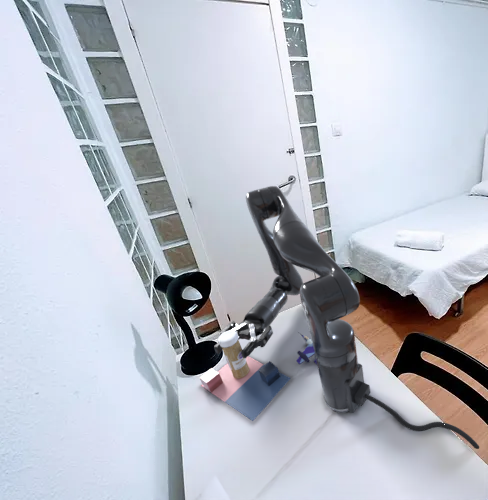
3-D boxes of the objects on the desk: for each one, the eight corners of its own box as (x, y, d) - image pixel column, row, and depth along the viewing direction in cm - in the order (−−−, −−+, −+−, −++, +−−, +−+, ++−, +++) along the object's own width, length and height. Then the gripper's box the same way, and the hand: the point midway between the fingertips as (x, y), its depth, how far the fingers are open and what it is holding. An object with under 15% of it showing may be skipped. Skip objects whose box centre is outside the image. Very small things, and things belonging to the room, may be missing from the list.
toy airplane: (297, 336, 88) (295, 328, 87) (341, 336, 86) (339, 327, 85) (285, 371, 77) (282, 361, 75) (335, 371, 75) (333, 361, 73)
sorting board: (291, 379, 74) (291, 378, 74) (253, 422, 64) (252, 421, 64) (240, 353, 85) (240, 352, 84) (201, 387, 75) (200, 385, 75)
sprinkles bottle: (246, 378, 75) (232, 341, 69) (230, 380, 75) (214, 342, 69) (252, 365, 79) (238, 328, 73) (236, 366, 79) (222, 329, 74)
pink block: (223, 382, 75) (219, 373, 73) (211, 392, 72) (206, 383, 71) (216, 377, 77) (211, 367, 75) (203, 386, 74) (199, 377, 72)
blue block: (280, 376, 74) (277, 367, 73) (268, 386, 72) (265, 376, 70) (272, 370, 77) (269, 360, 75) (261, 379, 74) (258, 369, 73)
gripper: (240, 302, 87) (202, 339, 73) (280, 306, 82) (248, 346, 68) (247, 321, 90) (211, 359, 76) (286, 325, 85) (256, 367, 72)
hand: (229, 353), depth 72 cm, fingers open, 8 cm apart
